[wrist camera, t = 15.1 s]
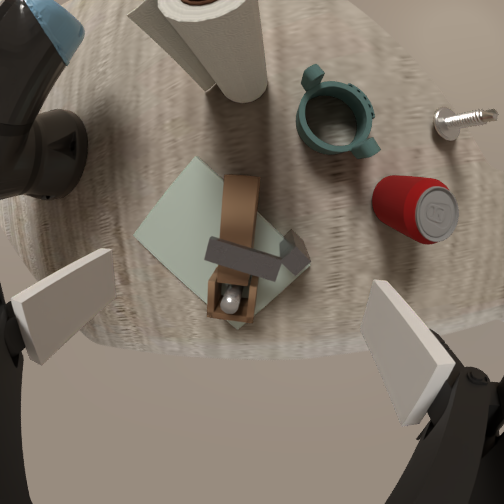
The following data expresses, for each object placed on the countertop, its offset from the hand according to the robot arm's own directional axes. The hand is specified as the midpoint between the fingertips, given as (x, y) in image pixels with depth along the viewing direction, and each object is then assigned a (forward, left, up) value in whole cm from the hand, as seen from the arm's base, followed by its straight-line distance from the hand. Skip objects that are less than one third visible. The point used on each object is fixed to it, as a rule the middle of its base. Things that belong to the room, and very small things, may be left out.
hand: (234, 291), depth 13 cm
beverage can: (+11, +14, -23) cm, 29 cm away
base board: (-1, -7, -23) cm, 24 cm away
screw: (+9, +28, -23) cm, 38 cm away
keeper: (+2, -2, -23) cm, 23 cm away
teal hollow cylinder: (-2, +15, -23) cm, 28 cm away
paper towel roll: (-14, +11, -23) cm, 29 cm away
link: (0, -4, -22) cm, 22 cm away
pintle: (+4, -8, -22) cm, 24 cm away
